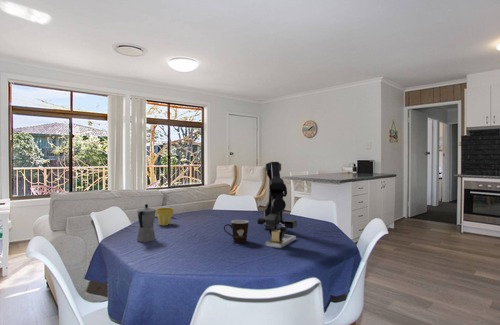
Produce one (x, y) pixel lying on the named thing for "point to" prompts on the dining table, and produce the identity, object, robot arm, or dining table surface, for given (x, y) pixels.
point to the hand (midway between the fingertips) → (276, 240)
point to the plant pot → (164, 215)
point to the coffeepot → (146, 224)
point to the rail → (286, 240)
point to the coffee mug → (239, 230)
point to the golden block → (276, 236)
